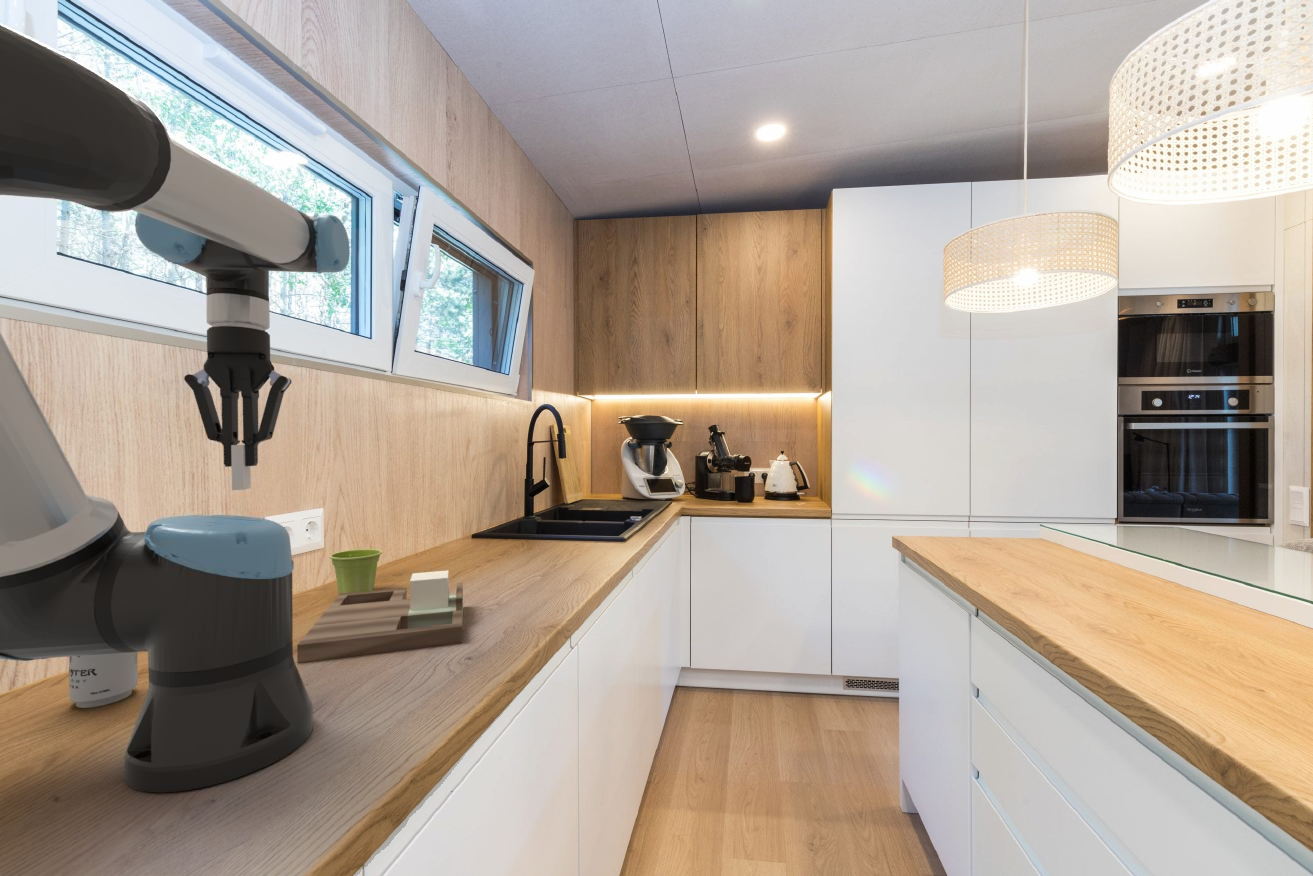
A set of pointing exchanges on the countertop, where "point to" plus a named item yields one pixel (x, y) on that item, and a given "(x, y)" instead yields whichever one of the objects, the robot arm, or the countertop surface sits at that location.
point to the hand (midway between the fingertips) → (241, 488)
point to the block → (429, 590)
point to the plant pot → (355, 569)
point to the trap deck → (380, 625)
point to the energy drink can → (102, 678)
